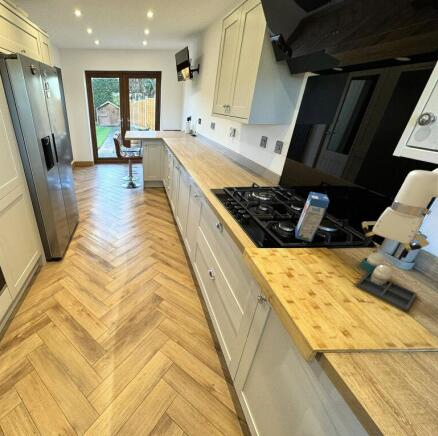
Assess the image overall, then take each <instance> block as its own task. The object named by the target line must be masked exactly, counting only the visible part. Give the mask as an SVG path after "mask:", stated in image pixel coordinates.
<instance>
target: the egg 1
mask: <svg viewBox="0 0 438 436" xmlns="http://www.w3.org/2000/svg"><path fill="white" fill-rule="evenodd" d="M366 258H367V260H366V262H367V263H369V264H371V265H373V266H376V267H377V266H379V265H382V264H383V263H385V256H384V255H383V254H381V253H379V252H372V253H370V254H369V255H368V257H366Z"/></svg>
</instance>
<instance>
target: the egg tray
mask: <svg viewBox="0 0 438 436" xmlns="http://www.w3.org/2000/svg"><path fill="white" fill-rule="evenodd" d="M371 275H372V273H371V272H367V273H366V274H365V275H364V276H363V277H362V278H361V279H360V280H358V282H357V283H356V284H355V287H356V288H357V289H360V290H361V291H364V292H365V293H368V294H369V295H372V296H374V297H376V298H377V299H379V300H381V301H383V302H385V303H387V304H390V305H391V306H394V307H396V308H397V309H399V310H401V311H403V312H405V313H407V311H408V310H409V308H410V307H411V305H412V304H413V302H414V300H415V298H416V296H417V295H418V293H417V292H415V291H412V290H410V289H408V288H406V287H404V286H401V285H399V284H398V283H395V282H392V281H390V280H388V281H387V282H386V283H384V284H383V285H379V284H377V283H375V282H372V281H371Z"/></svg>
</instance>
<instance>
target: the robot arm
mask: <svg viewBox="0 0 438 436" xmlns="http://www.w3.org/2000/svg"><path fill="white" fill-rule="evenodd" d="M433 198H438V167H437V168H435V169H434V170H432V171H429V170H423V169H414V170H412V171H409V173H408V174H407V176H406V177H405V179H404V181H403V183H402V185H401V187H400V189H399V190H398V192H397V194H396V196H395V197H394V200H393V201H392V204H391V205H390V206H388V207H386V208H385V210H384V211H383V212H382V213H381V214H380V216H379V218H378V219H377V220H369V221H362V222H361V227H362V231H363V232H364V234H365V235H364V236H365V238H364V239H363V241H362V243H363V245H362V246H363V247H367V246H369V244H370V242H371V240H372V239H373V237H374V235H376V236H379V237H382V238H385V239H388V240H391V241H394V242H397V243H399V244H400V243H401V244H403V246H404V248H403V249H402V251H401V253H400V254H399V256H398V257H397V259H398V260H400V261H401V260H402V259H406V258H407V256H408V255H409V253H410V252H411V251H417V250H421V249H422V248H425V247H427V246H428V245H430V241H429V240H427V239H426V238H424V236H422V235H421V234H420V233H419V231H420V229H421V227H422V226H423V222H424V219H425V215H428V216H429V215H430V214H431V213H432V210H429V209H428V205H429V204H430V202H431V201H432V200H433ZM369 226H373V227H372V230H370V228H369ZM414 239H416V240H417V241H418V242H419V243H418V244H413V243H412V242H413V241H414Z"/></svg>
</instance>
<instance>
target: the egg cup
mask: <svg viewBox="0 0 438 436" xmlns="http://www.w3.org/2000/svg"><path fill="white" fill-rule="evenodd" d="M367 258H368V257H363V258H362V260H361V261H360V262H359V267H360V268H361V269H362V270H363V271H365V272H367V273H368V272H371V273H373V271H374V270H375V268H376V266H373V265H371V264H369V263H367V262H366V260H367ZM382 265H384V264H383V263H382Z"/></svg>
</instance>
